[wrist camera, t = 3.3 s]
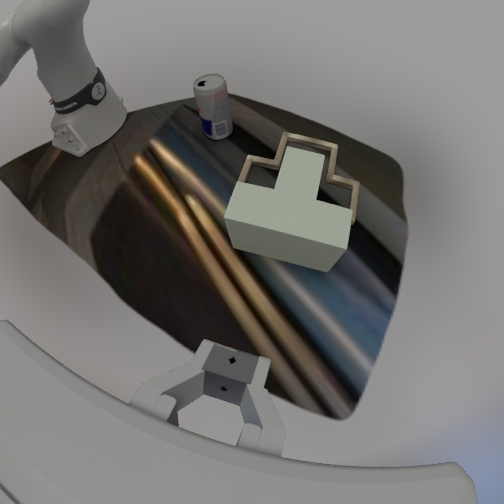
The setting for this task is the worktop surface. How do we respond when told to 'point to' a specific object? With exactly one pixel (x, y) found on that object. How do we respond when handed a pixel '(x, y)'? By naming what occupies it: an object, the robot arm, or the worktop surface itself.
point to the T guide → (313, 143)
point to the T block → (290, 216)
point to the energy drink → (213, 106)
